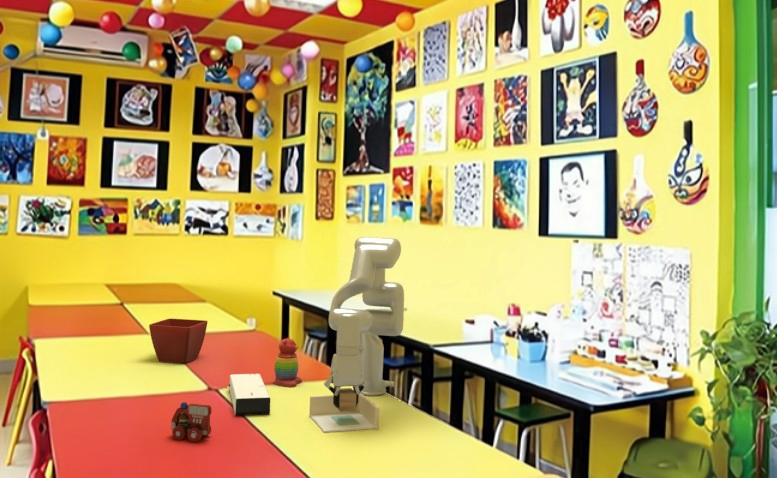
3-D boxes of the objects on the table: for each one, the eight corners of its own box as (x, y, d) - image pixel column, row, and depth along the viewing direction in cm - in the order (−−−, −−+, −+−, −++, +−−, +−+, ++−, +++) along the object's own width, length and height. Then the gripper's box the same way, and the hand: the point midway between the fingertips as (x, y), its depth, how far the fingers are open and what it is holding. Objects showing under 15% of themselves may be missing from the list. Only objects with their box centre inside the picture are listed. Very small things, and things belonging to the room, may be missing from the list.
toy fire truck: (179, 431, 204) (180, 397, 204) (216, 436, 200) (217, 402, 200) (165, 438, 197) (166, 403, 197) (203, 444, 194) (204, 408, 193)
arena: (360, 412, 231) (361, 393, 231) (378, 428, 215) (379, 407, 214) (309, 415, 225) (310, 396, 225) (323, 432, 208) (324, 411, 208)
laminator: (269, 416, 224) (270, 397, 224) (231, 417, 221) (232, 398, 221) (259, 389, 257) (260, 373, 257) (226, 390, 253) (226, 374, 253)
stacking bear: (294, 387, 260) (296, 342, 260) (269, 385, 262) (271, 339, 262) (303, 381, 271) (305, 337, 270) (279, 379, 273) (281, 335, 272)
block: (355, 411, 216) (356, 394, 216) (340, 411, 215) (341, 394, 214) (350, 404, 224) (351, 388, 223) (335, 405, 222) (336, 388, 222)
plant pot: (146, 362, 292) (147, 324, 291) (168, 354, 311) (169, 317, 310) (188, 366, 289) (189, 327, 288) (207, 357, 308) (208, 320, 307)
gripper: (369, 347, 225) (366, 401, 226) (319, 349, 219) (316, 404, 219) (376, 352, 218) (374, 407, 219) (325, 353, 212) (323, 411, 212)
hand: (345, 405), depth 219 cm, fingers closed on block, 5 cm apart
